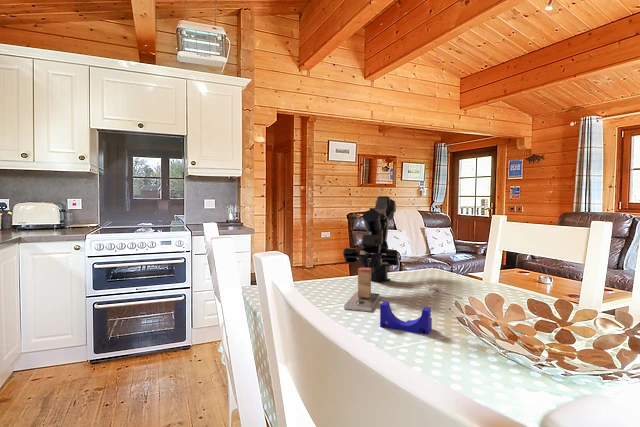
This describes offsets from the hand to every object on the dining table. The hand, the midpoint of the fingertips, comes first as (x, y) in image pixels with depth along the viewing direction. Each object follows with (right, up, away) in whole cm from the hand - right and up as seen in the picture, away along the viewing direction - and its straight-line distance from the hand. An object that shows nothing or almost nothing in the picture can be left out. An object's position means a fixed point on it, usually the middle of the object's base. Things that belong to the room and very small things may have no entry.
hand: (367, 276), depth 121 cm
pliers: (+25, -7, +5) cm, 27 cm away
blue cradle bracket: (+6, -8, -29) cm, 31 cm away
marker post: (-2, -5, -5) cm, 7 cm away
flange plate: (-2, -7, -7) cm, 10 cm away
